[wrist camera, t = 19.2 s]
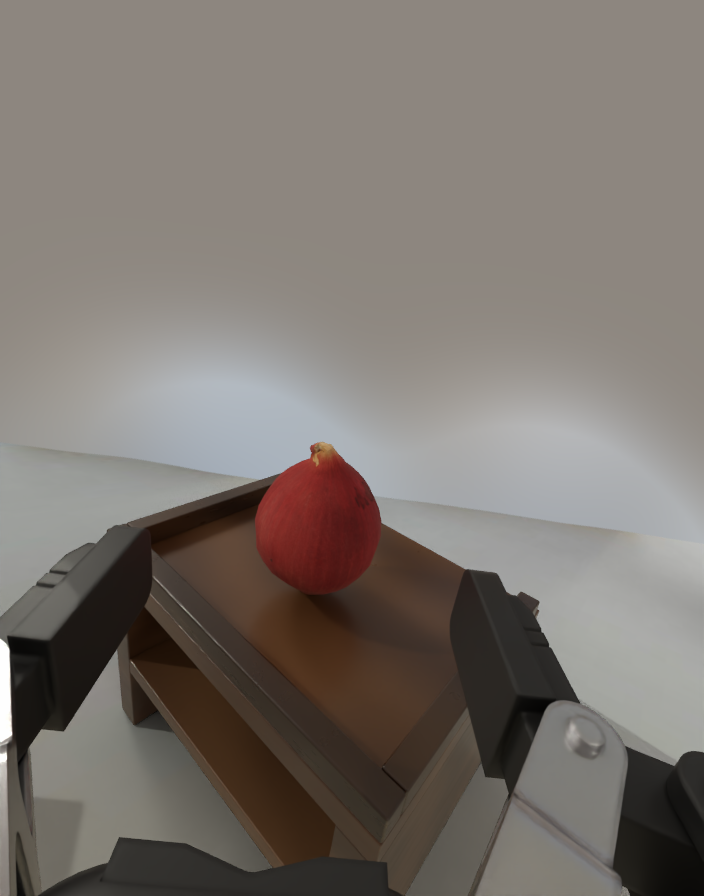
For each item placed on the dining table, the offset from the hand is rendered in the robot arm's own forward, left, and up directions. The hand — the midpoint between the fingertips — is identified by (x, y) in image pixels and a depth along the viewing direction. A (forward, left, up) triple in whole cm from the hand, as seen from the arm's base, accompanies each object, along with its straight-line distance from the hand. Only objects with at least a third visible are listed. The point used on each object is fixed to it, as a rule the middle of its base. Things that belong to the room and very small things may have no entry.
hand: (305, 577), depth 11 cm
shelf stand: (-8, -5, -20) cm, 22 cm away
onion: (-6, -5, -8) cm, 11 cm away
